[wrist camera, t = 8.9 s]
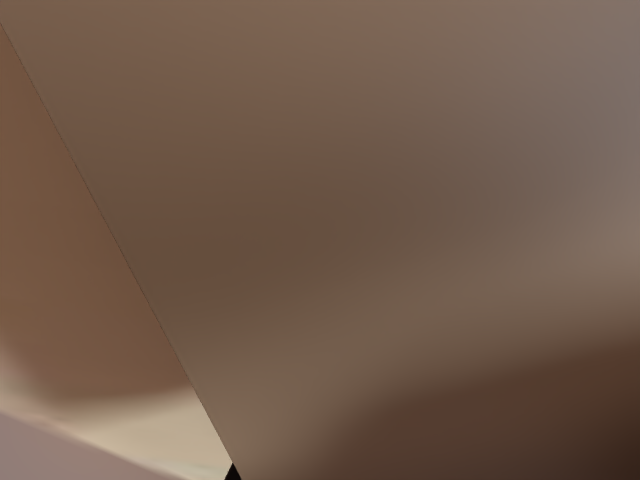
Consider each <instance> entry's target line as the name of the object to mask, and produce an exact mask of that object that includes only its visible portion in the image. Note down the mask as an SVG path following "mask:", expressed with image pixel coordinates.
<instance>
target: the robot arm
mask: <svg viewBox="0 0 640 480" xmlns="http://www.w3.org/2000/svg"><path fill="white" fill-rule="evenodd" d="M224 480H242V479H241V477H240V475H239V473H238V471H237V469H236V467H235V466H234V464H233V463H232V465H231V467H230V469H229V471H228V473H227V475H226V477H225V479H224Z"/></svg>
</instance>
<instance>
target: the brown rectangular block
mask: <svg viewBox="0 0 640 480" xmlns="http://www.w3.org/2000/svg"><path fill="white" fill-rule="evenodd" d="M0 23H1V25H2V27H3V29H4V31H5V33H6V35H7V37H8V38H9V40H10V42H11V44H12V46H13V48H14V50H15V52H16V54H17V55H18V57H19V59H20V61H21V63H22V65H23V67H24V69H25V71H26V72H27V74H28V76H29V78H30V80H31V82H32V84H33V86H34V88H35V89H36V91H37V93H38V95H39V97H40V99H41V101H42V103H43V105H44V106H45V108H46V110H47V112H48V114H49V116H50V118H51V120H52V122H53V123H54V125H55V127H56V129H57V131H58V133H59V135H60V137H61V139H62V140H63V142H64V144H65V146H66V148H67V150H68V152H69V154H70V156H71V157H72V159H73V161H74V163H75V165H76V167H77V169H78V171H79V173H80V174H81V176H82V178H83V180H84V182H85V184H86V186H87V188H88V190H89V192H90V193H91V195H92V197H93V199H94V201H95V203H96V205H97V207H98V209H99V210H100V212H101V214H102V216H103V218H104V220H105V222H106V224H107V226H108V227H109V229H110V231H111V233H112V235H113V237H114V239H115V241H116V243H117V244H118V246H119V248H120V250H121V252H122V254H123V256H124V258H125V260H126V261H127V263H128V265H129V267H130V269H131V271H132V273H133V275H134V277H135V278H136V280H137V282H138V284H139V286H140V288H141V290H142V292H143V294H144V295H145V297H146V299H147V301H148V303H149V305H150V307H151V309H152V311H153V312H154V314H155V316H156V318H157V320H158V322H159V324H160V326H161V328H162V329H163V331H164V333H165V335H166V337H167V339H168V341H169V343H170V345H171V346H172V348H173V350H174V352H175V354H176V356H177V358H178V360H179V362H180V364H181V365H182V367H183V369H184V371H185V373H186V375H187V377H188V379H189V381H190V382H191V384H192V386H193V388H194V390H195V392H196V394H197V396H198V398H199V399H200V401H201V403H202V405H203V407H204V409H205V411H206V413H207V415H208V416H209V418H210V420H211V422H212V424H213V426H214V428H215V430H216V432H217V433H218V435H219V437H220V439H221V441H222V443H223V445H224V447H225V449H226V450H227V452H228V454H229V456H230V458H231V460H232V462H233V464H234V466H235V467H236V469H237V471H238V473H239V475H240V477H241V479H242V480H640V0H0Z"/></svg>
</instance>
